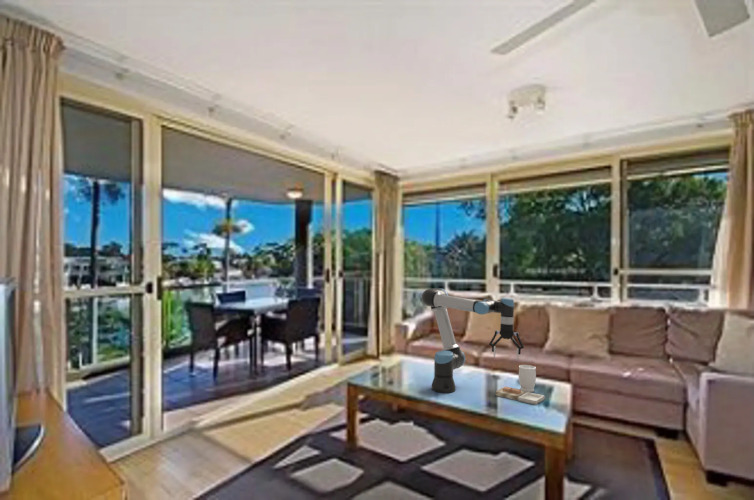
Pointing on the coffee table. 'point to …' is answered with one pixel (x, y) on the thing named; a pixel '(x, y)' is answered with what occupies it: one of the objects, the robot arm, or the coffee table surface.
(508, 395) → the board
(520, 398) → the tray
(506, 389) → the tile rear
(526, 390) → the jar
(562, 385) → the coffee table surface
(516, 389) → the tile front
